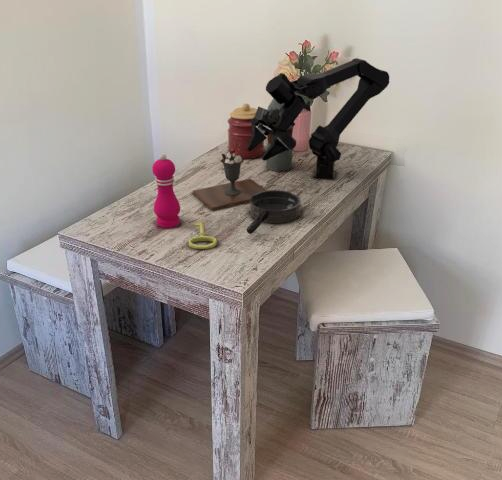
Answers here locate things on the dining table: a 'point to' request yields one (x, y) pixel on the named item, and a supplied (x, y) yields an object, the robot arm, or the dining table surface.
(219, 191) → the walnut board
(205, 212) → the dining table surface
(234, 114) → the kitchen canister
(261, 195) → the skillet
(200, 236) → the key
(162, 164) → the pepper mill
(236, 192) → the sundae
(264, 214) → the skillet handle
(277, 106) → the bottle
